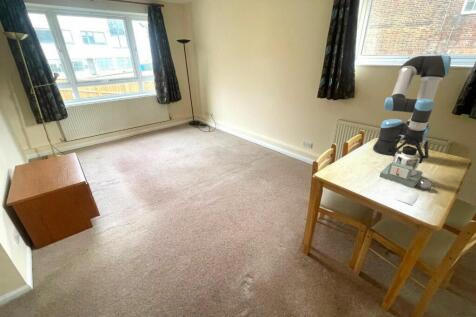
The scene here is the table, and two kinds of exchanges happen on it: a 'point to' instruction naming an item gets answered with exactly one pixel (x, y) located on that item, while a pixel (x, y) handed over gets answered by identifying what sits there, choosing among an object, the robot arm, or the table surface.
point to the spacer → (424, 184)
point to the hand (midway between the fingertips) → (404, 164)
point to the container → (407, 157)
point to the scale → (401, 174)
